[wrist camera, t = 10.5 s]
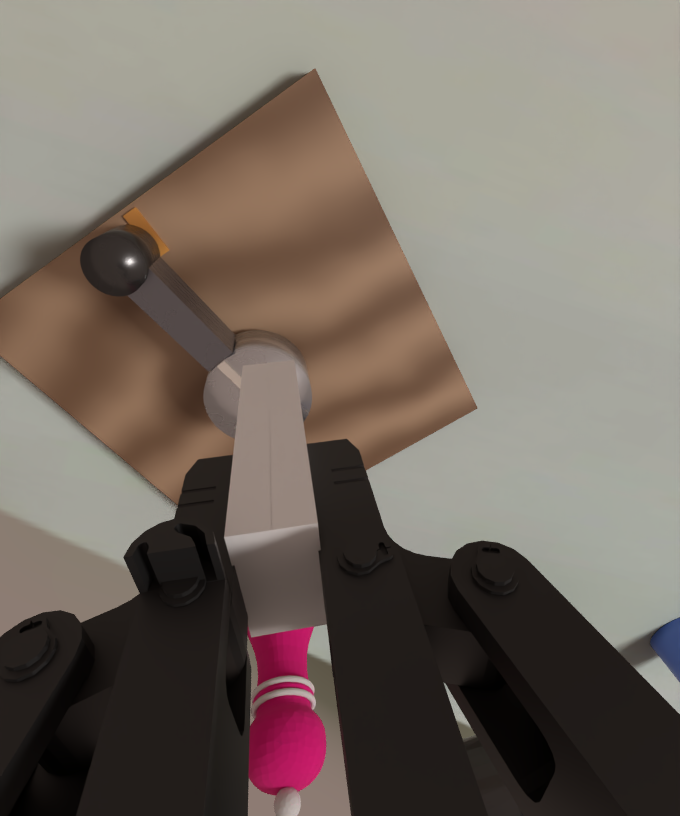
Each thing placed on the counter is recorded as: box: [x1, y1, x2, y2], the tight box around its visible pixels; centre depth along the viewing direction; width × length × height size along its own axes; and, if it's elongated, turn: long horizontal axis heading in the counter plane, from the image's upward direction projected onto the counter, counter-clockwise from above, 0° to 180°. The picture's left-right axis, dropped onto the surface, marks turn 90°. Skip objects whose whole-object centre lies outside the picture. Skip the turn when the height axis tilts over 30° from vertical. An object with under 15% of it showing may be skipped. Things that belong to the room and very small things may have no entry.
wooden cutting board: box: [0, 69, 477, 505], centre depth 32 cm, size 26×26×2 cm
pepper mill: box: [247, 627, 326, 816], centre depth 36 cm, size 7×7×20 cm
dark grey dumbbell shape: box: [80, 224, 312, 439], centre depth 27 cm, size 16×7×4 cm, turn 36°
